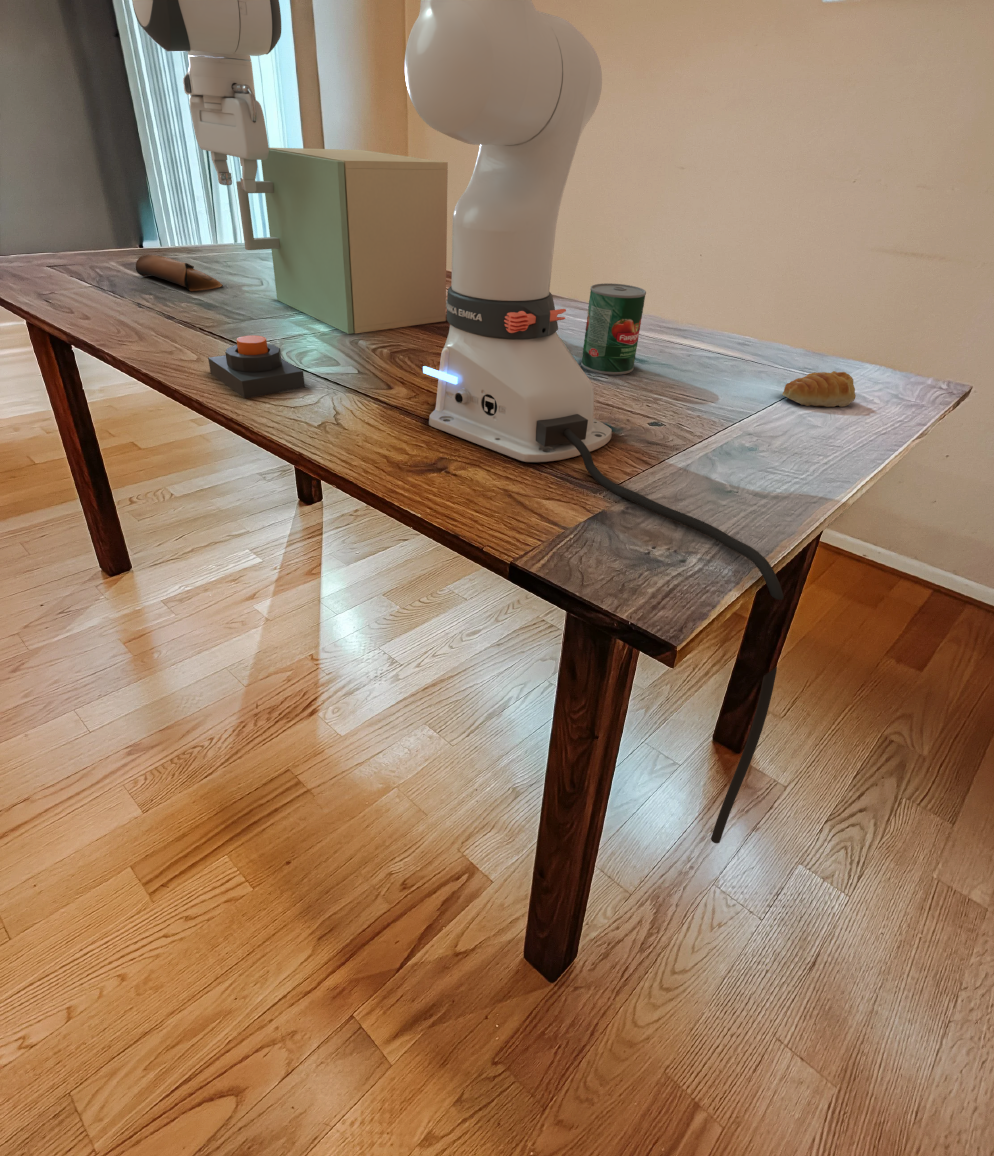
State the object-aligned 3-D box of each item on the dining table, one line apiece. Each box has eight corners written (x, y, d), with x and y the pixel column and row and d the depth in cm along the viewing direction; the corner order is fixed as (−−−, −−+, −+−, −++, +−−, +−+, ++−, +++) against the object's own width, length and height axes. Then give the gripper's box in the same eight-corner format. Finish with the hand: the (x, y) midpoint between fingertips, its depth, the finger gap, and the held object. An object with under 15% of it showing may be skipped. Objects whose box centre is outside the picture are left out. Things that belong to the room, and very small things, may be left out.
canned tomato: (629, 377, 100) (642, 297, 94) (576, 370, 102) (585, 291, 96) (636, 363, 106) (649, 287, 100) (586, 356, 108) (595, 281, 102)
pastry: (800, 410, 92) (809, 382, 90) (769, 394, 97) (776, 367, 95) (856, 406, 95) (866, 379, 93) (823, 390, 100) (831, 364, 98)
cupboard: (355, 334, 111) (345, 160, 98) (283, 300, 127) (266, 147, 114) (445, 321, 121) (447, 162, 108) (368, 291, 137) (362, 150, 124)
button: (272, 354, 88) (271, 340, 87) (245, 358, 86) (243, 344, 85) (261, 347, 90) (259, 334, 89) (233, 351, 88) (231, 337, 87)
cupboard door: (315, 338, 107) (299, 161, 94) (246, 303, 124) (224, 147, 110) (353, 333, 111) (343, 161, 98) (282, 299, 127) (265, 148, 114)
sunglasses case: (227, 284, 133) (205, 253, 128) (202, 308, 131) (179, 278, 126) (175, 269, 142) (153, 240, 137) (151, 292, 140) (128, 263, 135)
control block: (305, 388, 89) (301, 356, 87) (244, 399, 85) (239, 366, 82) (268, 365, 96) (264, 335, 94) (210, 374, 91) (205, 343, 89)
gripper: (273, 86, 99) (284, 195, 107) (218, 83, 112) (231, 181, 120) (230, 82, 96) (244, 196, 103) (178, 80, 108) (194, 181, 116)
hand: (237, 188), depth 112 cm, fingers open, 8 cm apart
